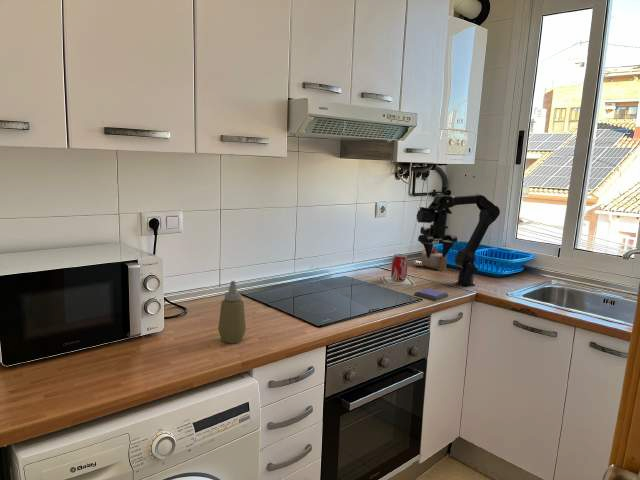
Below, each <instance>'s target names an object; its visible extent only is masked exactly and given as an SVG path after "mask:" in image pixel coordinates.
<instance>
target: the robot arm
mask: <svg viewBox="0 0 640 480" xmlns="http://www.w3.org/2000/svg"><path fill="white" fill-rule="evenodd" d="M461 205H463V206H464V205H476V207H477V208H478V209H479V211H480V212H479V215H478V216H479V217H478V223H477V225H476V227H475V228H474V230H473V232H472V234H471V236H470V238H469V240H468V242H467V245H466V246H465V248H464V249H463V250H460V249H459V250H458V251H457V254H456V255H455V257H454V258H455V260H454V263H455V265H456V268H457V270H458V271H459V274H458V279H457V281H456V282H455V284H456V285H459V286H462V287H474V286H476V284H475V283H474V279H475V278H474V276H475V275H476V274H477V273H478V271H479V269H478V268H477V266H476V264H475V261H476V252H477V250H478V248H479V246H480V245H481V243H482V240H483V239H484V237H485V235H486V233H487V230H488V229H489V227H490V226H491V225H492V224H493V223H495V221H496V220H497V219H498V217H499V216H500V214H501V210H500V207H498V205H495V204H494V203H493V202H492V201H490V200H489V199H488V198H487V197H486V196H485V195H483V194H478V193H477V194H469V195H468V194H467V195H456V196H452V195H446V194H436V195H435V197H434V198H433V201H432V202H431V203H430V204H429V206H428V207H424V206H420V207H419V210H418V211H417V214H416V220H417V222H418V223H422V224H423V223H426V224H430V225H429V227H426V226H421V227H420V231H419V232H420V234H419V235H418V237H417V241H418V242H419V243H420V244H422V245H423V247H424V251H426V255H427V258H429V257H430V255H431V251H432V250H433V247H434V243H433V242H434V241H435V242H436V241H437V242H439V241H441V244H442V253H441V254H442V257H445V256H447V254H448V252H449V251H450V249H451V248H452V247H453V246H454V245H455V244H456V243H458V237H457V235H453V234H451V233H450V234H446V230H447V229H449V226H448V225H447V220H448V215H449V214H450V215H451V214H453V212H452V211H451V210H450V208H453V207H456V206H461Z"/></svg>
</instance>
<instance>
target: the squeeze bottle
mask: <svg viewBox="0 0 640 480" xmlns="http://www.w3.org/2000/svg"><path fill="white" fill-rule="evenodd" d="M219 311H220V313H219V321H218V330H217V331H218V333H219V336H220V339H221V342H223V343H225V344H237V343H240V342H242V341H243V338H244V336H245V333H246V330H247V329H246V327H247V326H246V315H245V314H246V313H245V302H244V300H242V292H239V291H238V289H237V284H236V280H231V281H230V285H229V289H228V291H227V292H225V293H224V299H223V300H222V301H221V303H220V310H219Z"/></svg>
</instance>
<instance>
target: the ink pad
mask: <svg viewBox="0 0 640 480" xmlns="http://www.w3.org/2000/svg"><path fill="white" fill-rule="evenodd" d="M414 296H416V297H420V298H423V299H427V300H430V301H434V302H437V301H440V300H442V299H445V298H448V297H449V293H447V292H443V291H439V290H437V289H436V290H435V289H433V288H428V287H427V288H424V289H422V290H419V291H415V292H414Z"/></svg>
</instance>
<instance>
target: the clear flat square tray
mask: <svg viewBox="0 0 640 480" xmlns="http://www.w3.org/2000/svg"><path fill="white" fill-rule="evenodd" d="M380 279H381V280H382V282H383V284H384V285H385V286H401V287H402V286H405V287H416V286H417V285H416V284H415V282H414V281H413V280H412V279H411V277H407V276H406V280H405V281H403V282H396V281H393V280H392V279H391V276H384V275H380Z"/></svg>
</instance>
